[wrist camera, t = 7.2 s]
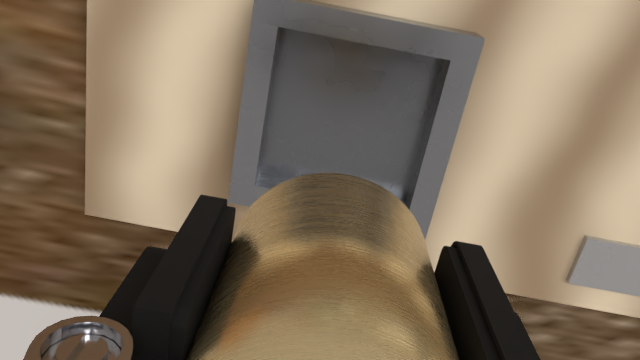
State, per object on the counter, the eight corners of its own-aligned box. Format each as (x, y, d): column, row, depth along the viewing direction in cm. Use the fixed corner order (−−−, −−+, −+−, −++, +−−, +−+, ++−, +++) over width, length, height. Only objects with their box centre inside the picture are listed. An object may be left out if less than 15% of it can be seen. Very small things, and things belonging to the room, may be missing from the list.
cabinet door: (847, 29, 22) (921, 40, 19) (691, 311, 27) (729, 352, 24) (105, -120, 21) (68, -131, 18) (98, 200, 26) (69, 229, 24)
